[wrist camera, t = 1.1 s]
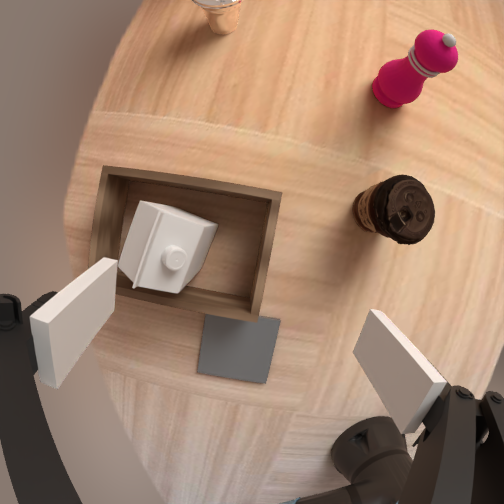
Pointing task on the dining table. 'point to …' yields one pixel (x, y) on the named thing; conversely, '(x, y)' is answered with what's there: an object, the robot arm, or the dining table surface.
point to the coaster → (238, 347)
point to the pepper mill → (415, 68)
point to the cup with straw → (221, 14)
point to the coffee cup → (396, 209)
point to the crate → (188, 298)
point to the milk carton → (165, 247)
